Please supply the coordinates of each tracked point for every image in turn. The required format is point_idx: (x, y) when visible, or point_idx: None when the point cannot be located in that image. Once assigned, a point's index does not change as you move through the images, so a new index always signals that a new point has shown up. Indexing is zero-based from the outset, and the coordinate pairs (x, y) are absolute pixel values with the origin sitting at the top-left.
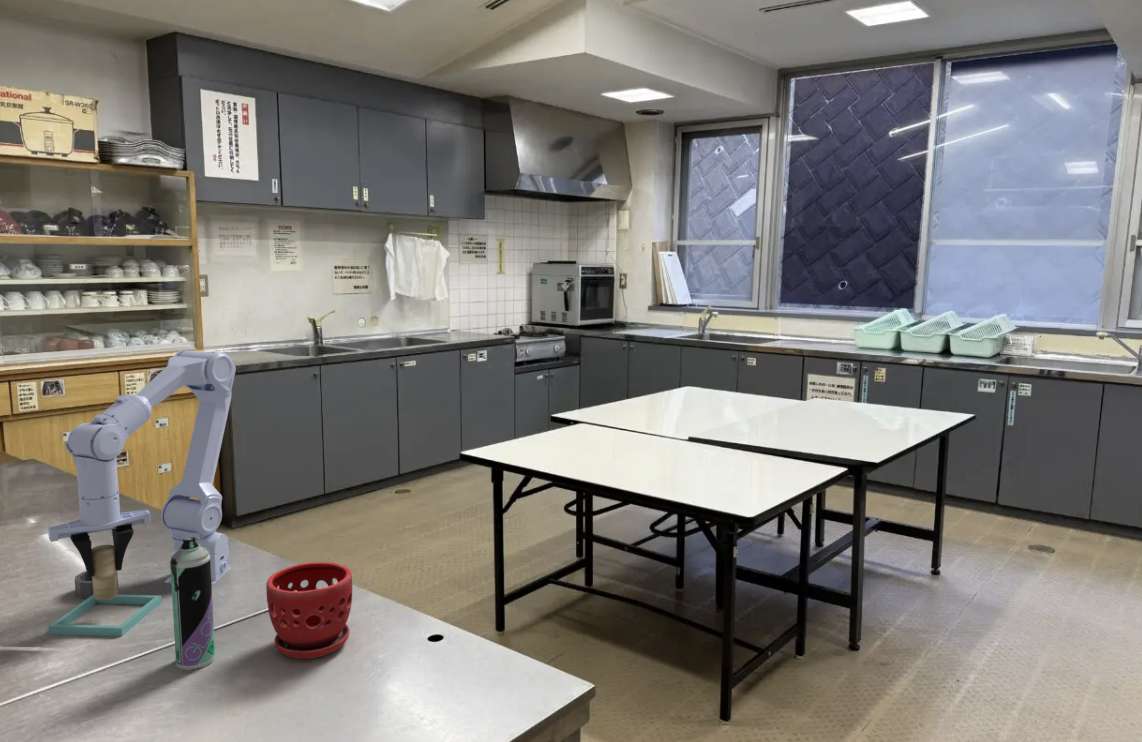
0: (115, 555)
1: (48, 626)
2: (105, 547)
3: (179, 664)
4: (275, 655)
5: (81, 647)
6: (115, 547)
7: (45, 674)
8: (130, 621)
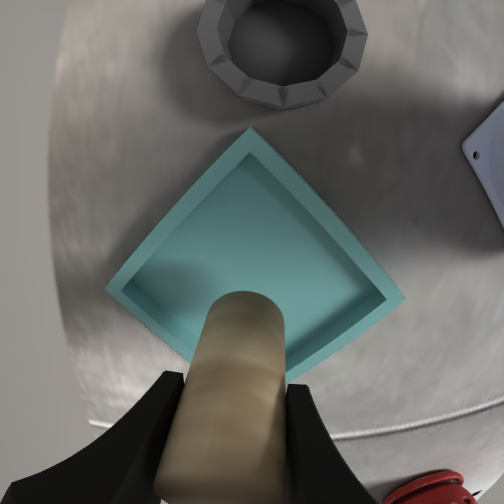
0: (289, 454)
1: (104, 289)
2: (235, 500)
3: None
4: (383, 492)
5: (175, 367)
6: (292, 492)
7: (121, 403)
8: None
